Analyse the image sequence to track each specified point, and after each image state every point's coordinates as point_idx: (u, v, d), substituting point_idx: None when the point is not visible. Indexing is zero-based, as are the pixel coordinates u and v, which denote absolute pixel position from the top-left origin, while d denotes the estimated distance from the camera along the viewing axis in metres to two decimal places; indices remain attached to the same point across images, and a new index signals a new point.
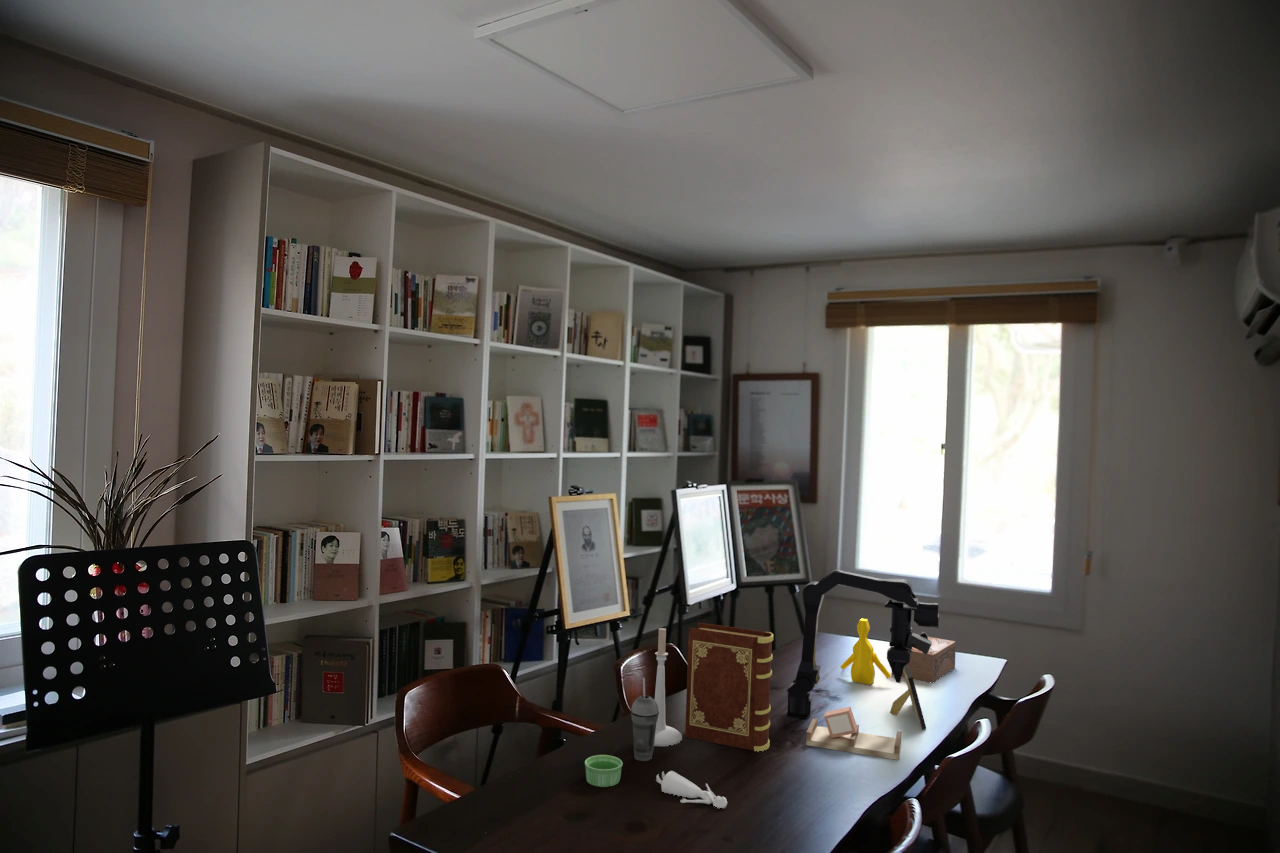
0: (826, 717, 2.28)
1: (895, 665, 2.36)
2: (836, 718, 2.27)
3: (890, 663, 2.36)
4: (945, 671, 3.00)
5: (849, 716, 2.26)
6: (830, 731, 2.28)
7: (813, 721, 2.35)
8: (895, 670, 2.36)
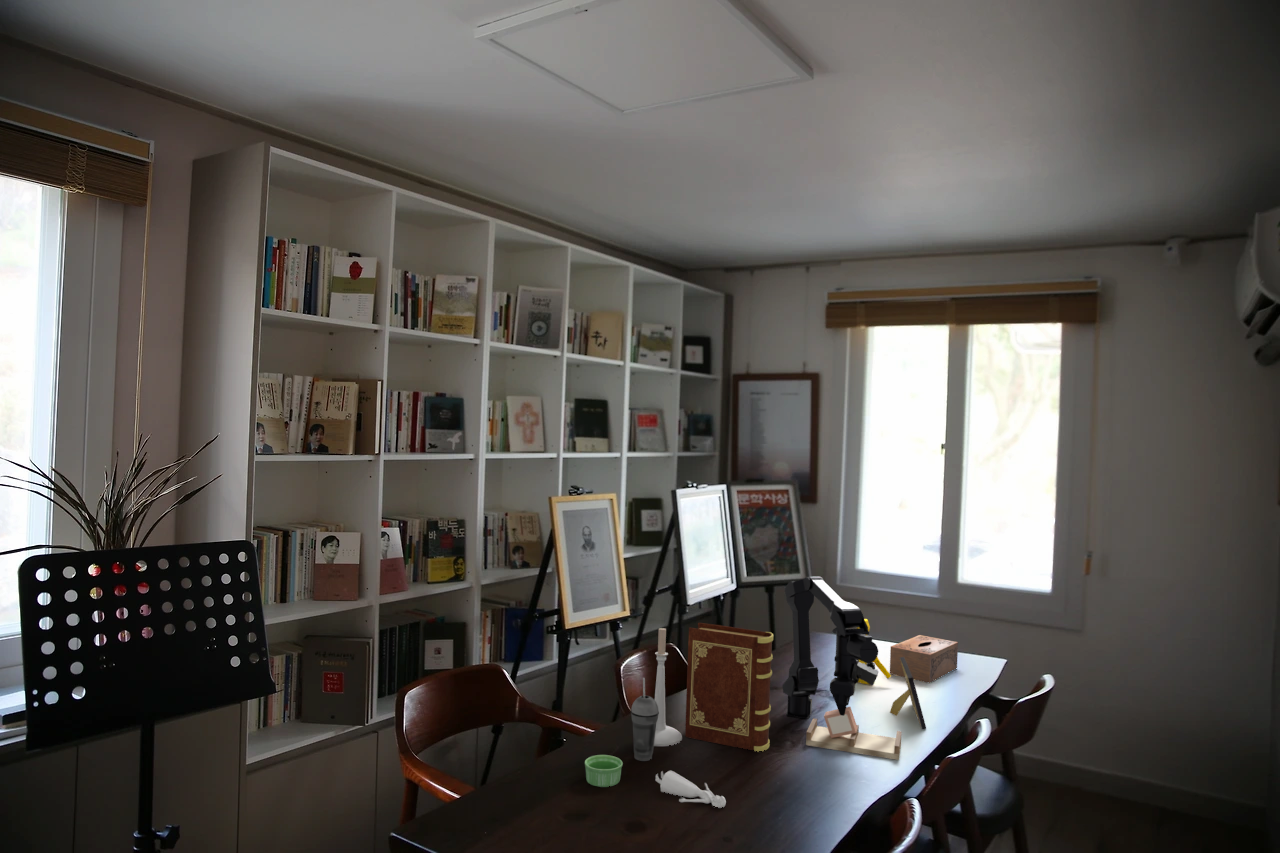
0: (826, 717, 2.28)
1: (838, 696, 2.24)
2: (836, 718, 2.27)
3: (833, 695, 2.23)
4: (945, 671, 2.99)
5: (849, 716, 2.26)
6: (830, 731, 2.28)
7: (813, 721, 2.35)
8: (839, 702, 2.24)
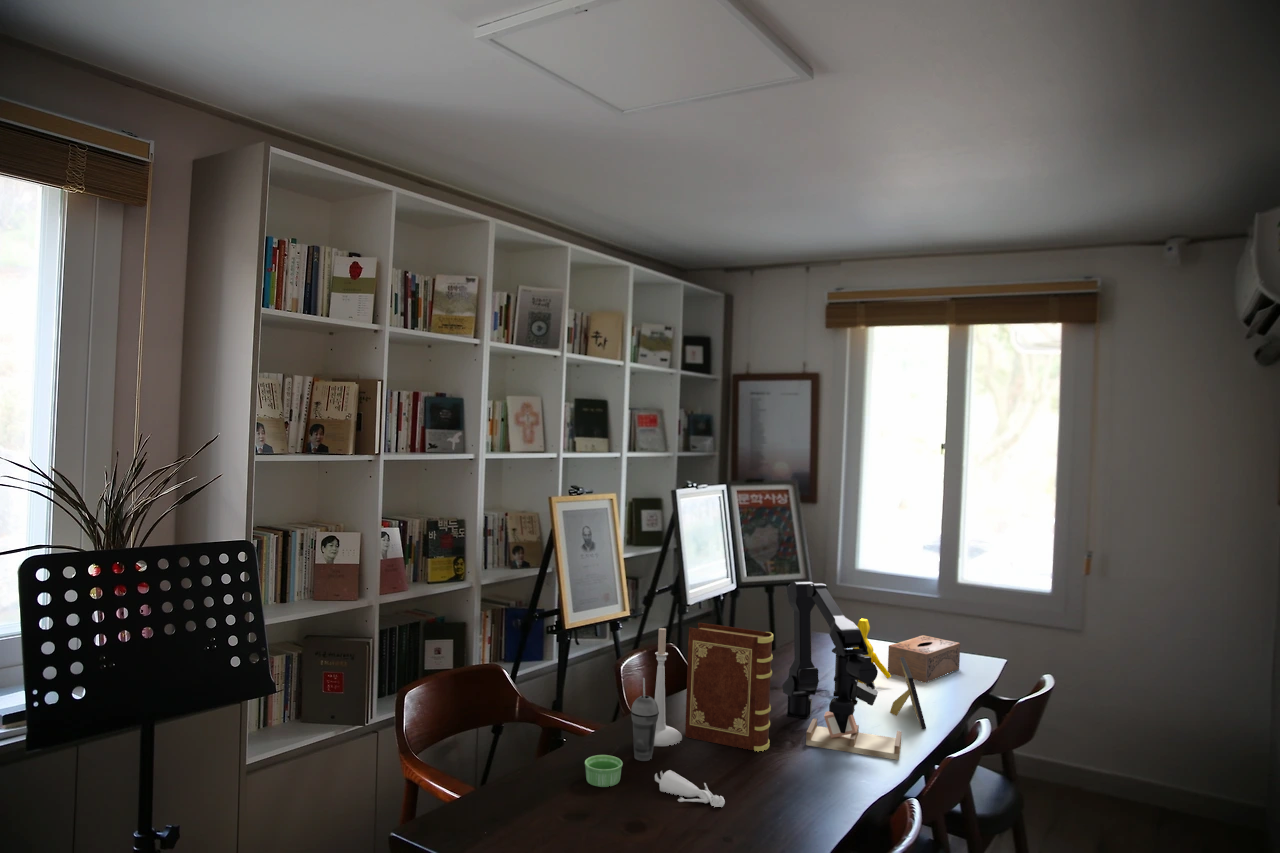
0: (826, 717, 2.28)
1: (839, 714, 2.26)
2: None
3: (834, 713, 2.26)
4: (944, 672, 2.99)
5: (849, 716, 2.26)
6: (830, 731, 2.28)
7: (813, 721, 2.35)
8: (839, 720, 2.26)
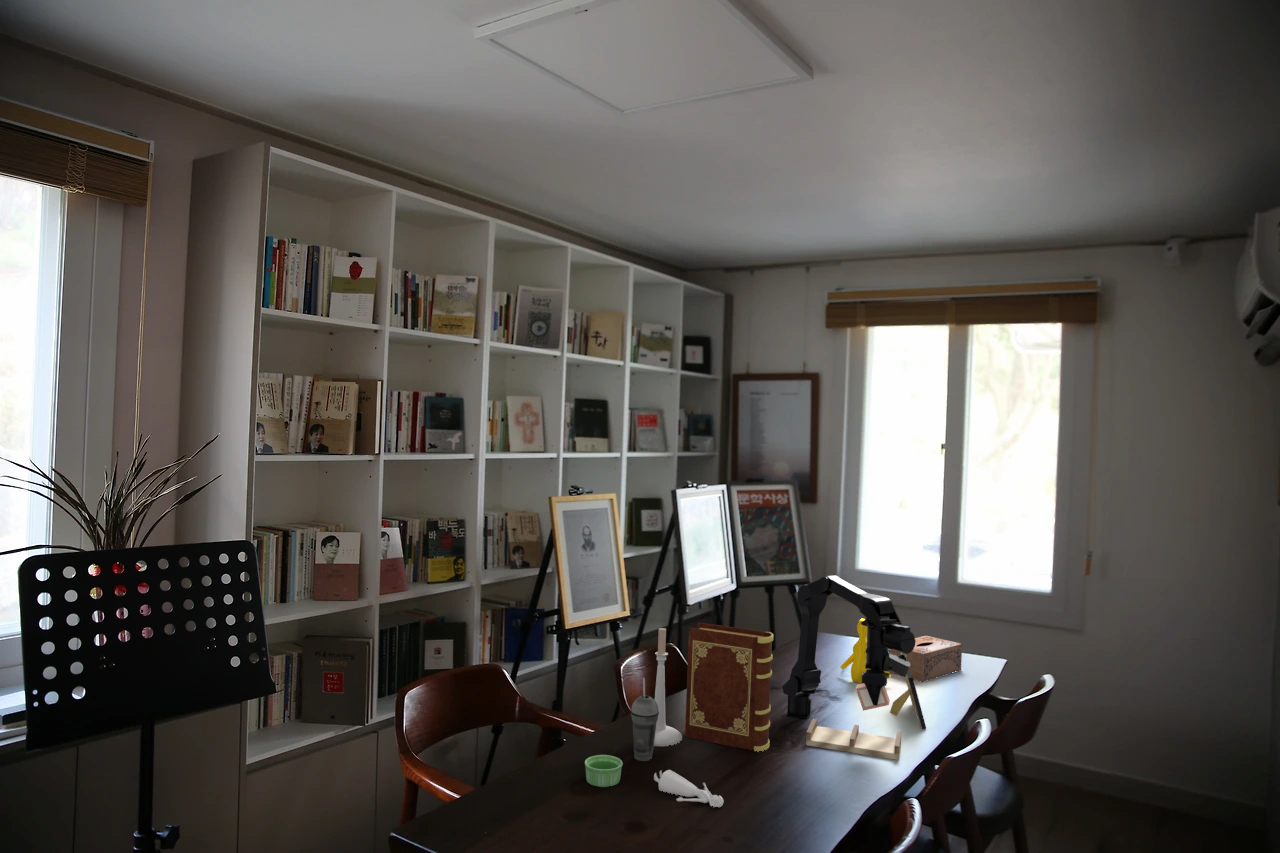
0: (858, 689, 2.26)
1: (871, 686, 2.23)
2: None
3: (866, 685, 2.23)
4: (944, 672, 2.98)
5: (881, 688, 2.23)
6: (862, 703, 2.25)
7: (813, 721, 2.35)
8: (872, 692, 2.23)
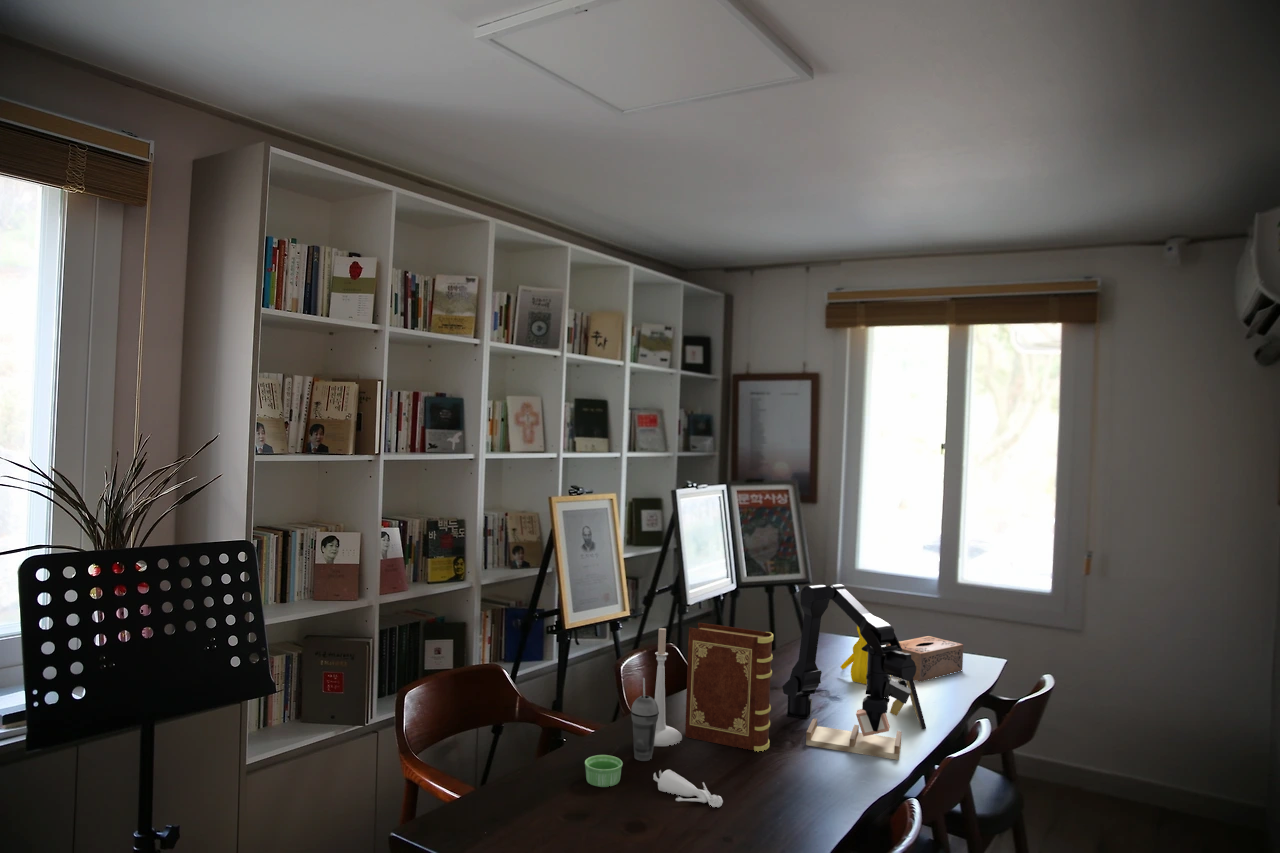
0: (858, 715, 2.26)
1: (872, 712, 2.23)
2: None
3: (867, 711, 2.23)
4: (943, 672, 2.98)
5: (882, 714, 2.24)
6: (862, 729, 2.25)
7: (813, 721, 2.35)
8: (872, 718, 2.23)
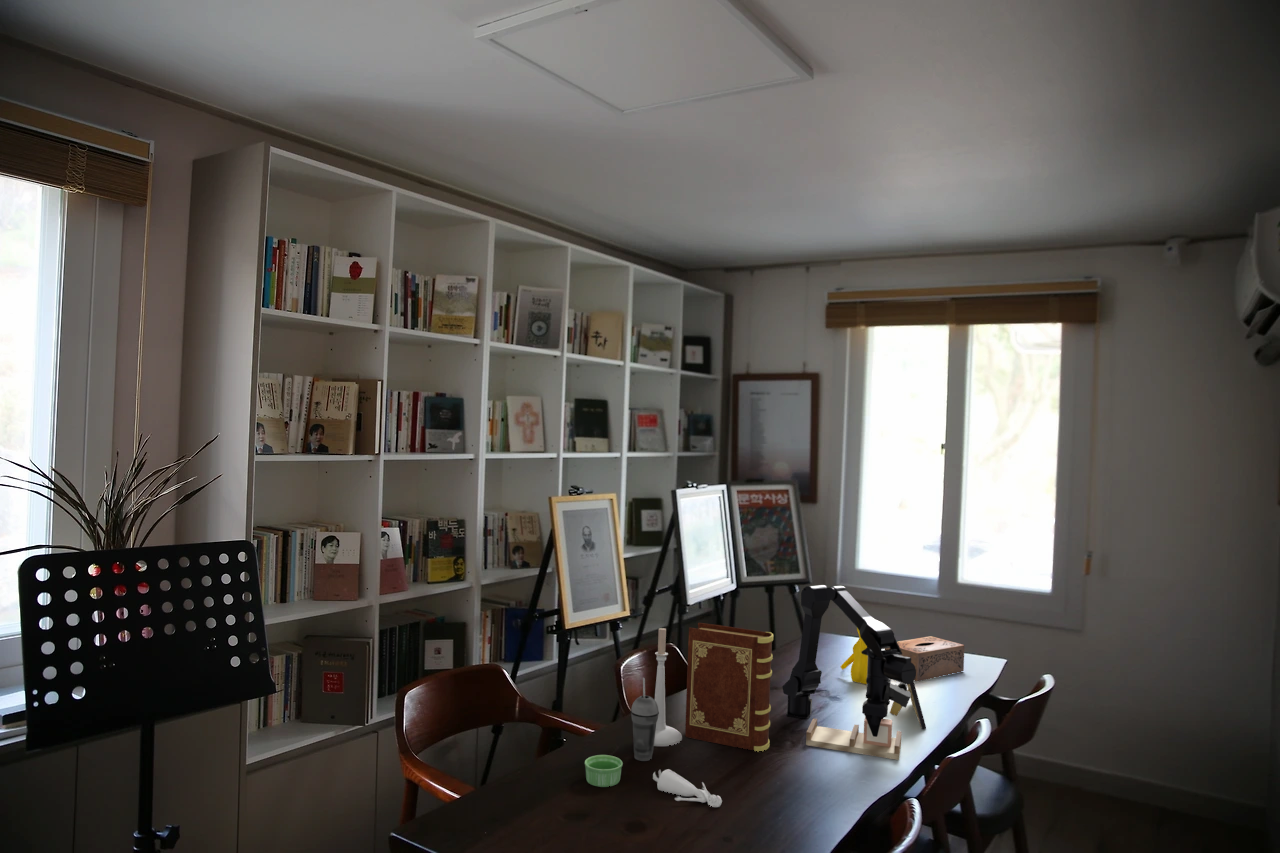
0: (866, 722, 2.25)
1: (871, 717, 2.22)
2: None
3: (866, 716, 2.21)
4: (943, 673, 2.98)
5: (890, 730, 2.23)
6: (865, 736, 2.25)
7: (813, 721, 2.35)
8: (872, 723, 2.22)
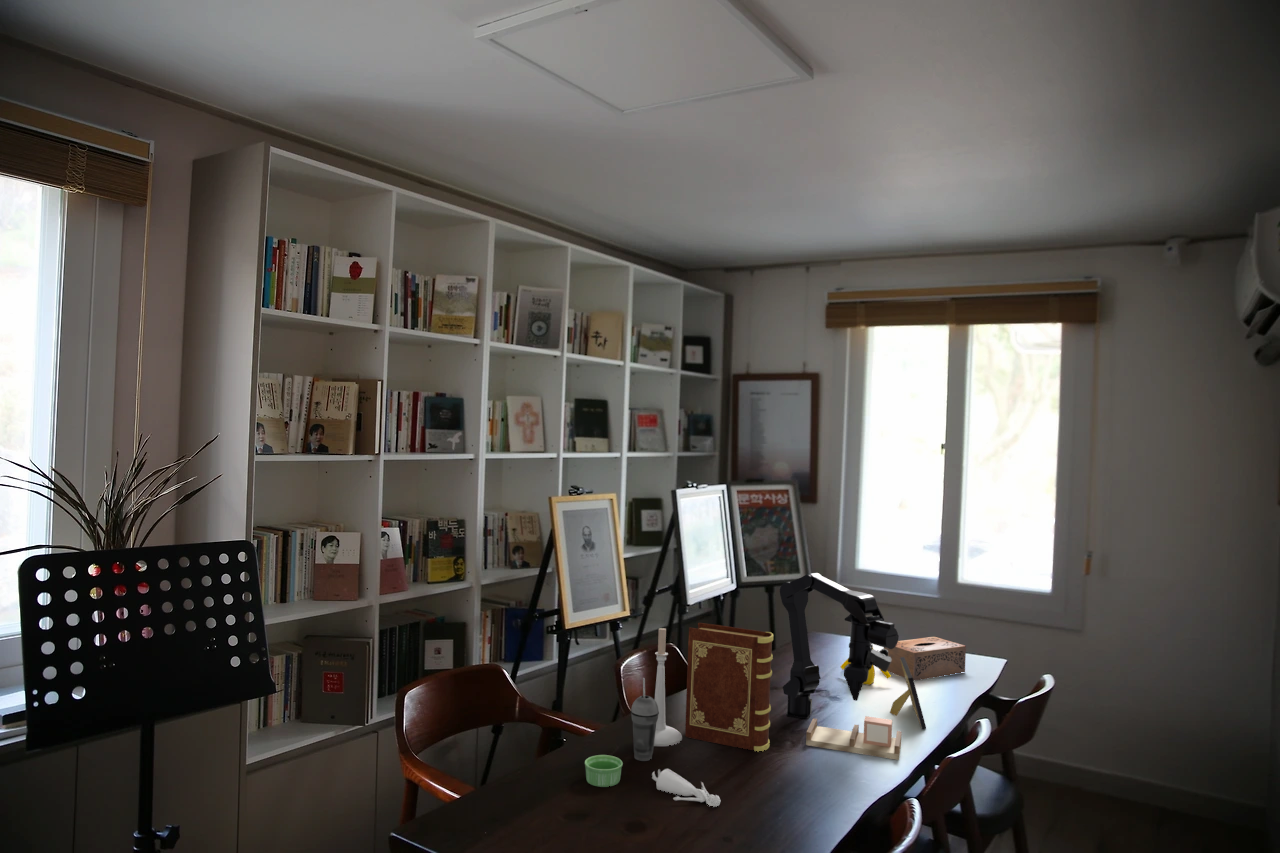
0: (866, 722, 2.25)
1: (852, 682, 2.29)
2: (876, 727, 2.24)
3: (847, 680, 2.29)
4: (942, 673, 2.97)
5: (890, 730, 2.23)
6: (865, 736, 2.25)
7: (813, 721, 2.35)
8: (852, 688, 2.29)
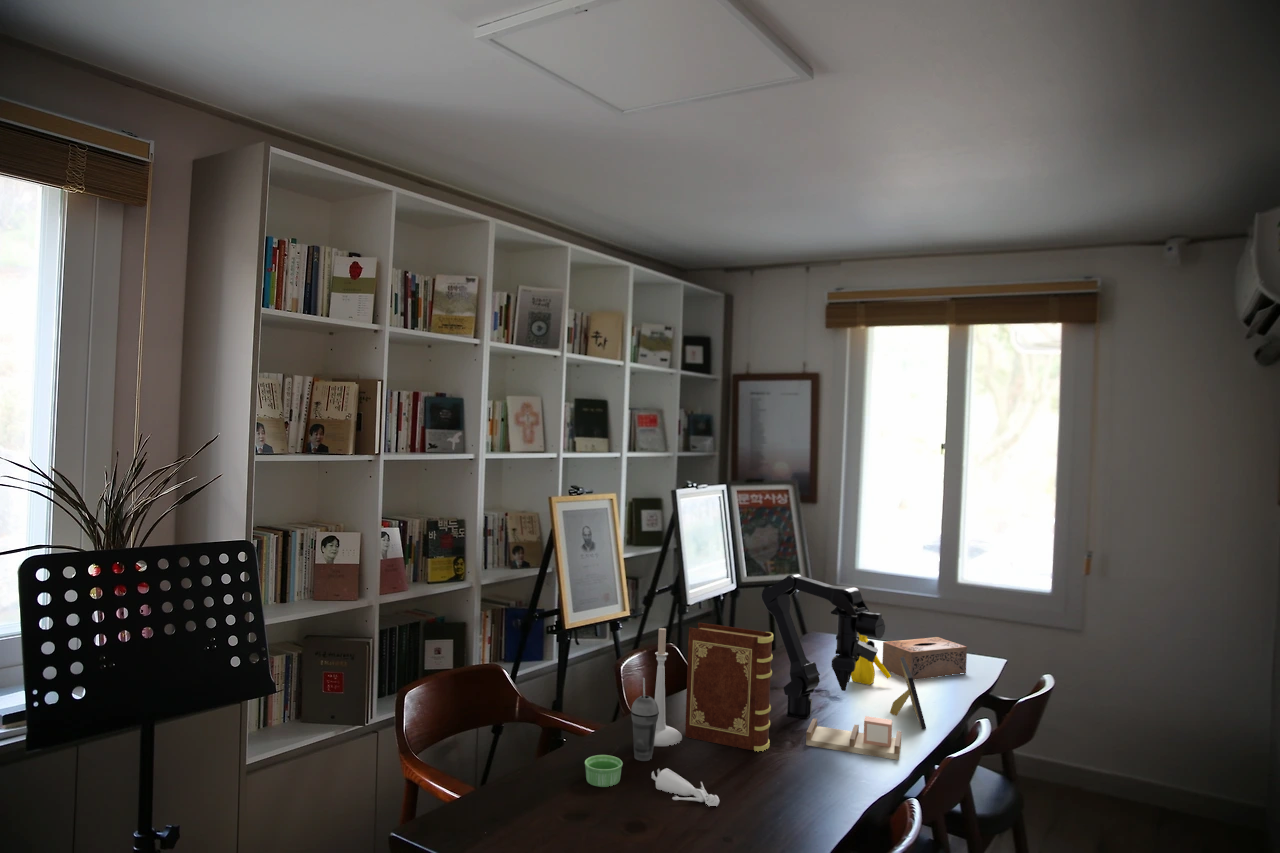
0: (866, 722, 2.25)
1: (840, 673, 2.35)
2: (876, 727, 2.24)
3: (835, 671, 2.35)
4: (941, 673, 2.97)
5: (890, 730, 2.23)
6: (865, 736, 2.25)
7: (813, 721, 2.35)
8: (840, 678, 2.35)
